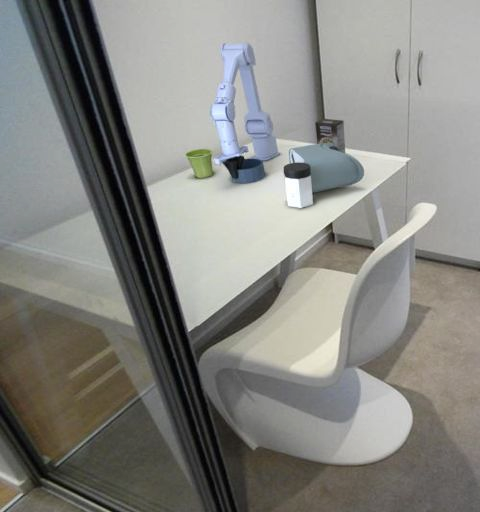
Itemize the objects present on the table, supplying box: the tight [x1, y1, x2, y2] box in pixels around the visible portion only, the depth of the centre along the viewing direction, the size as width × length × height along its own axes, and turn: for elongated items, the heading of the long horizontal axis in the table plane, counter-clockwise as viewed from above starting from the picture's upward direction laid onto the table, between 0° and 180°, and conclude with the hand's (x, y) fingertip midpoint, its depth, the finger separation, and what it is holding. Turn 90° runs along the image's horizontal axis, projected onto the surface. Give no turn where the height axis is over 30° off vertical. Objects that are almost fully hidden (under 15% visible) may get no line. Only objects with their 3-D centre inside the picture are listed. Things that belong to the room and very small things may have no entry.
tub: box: [230, 157, 266, 184], centre depth 159 cm, size 12×12×5 cm
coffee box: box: [314, 118, 346, 153], centre depth 167 cm, size 9×6×16 cm
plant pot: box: [184, 148, 214, 179], centre depth 160 cm, size 9×9×9 cm
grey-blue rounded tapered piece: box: [288, 142, 365, 194], centre depth 149 cm, size 22×19×13 cm
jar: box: [283, 162, 314, 209], centre depth 136 cm, size 9×8×12 cm
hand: (236, 177), depth 155 cm, fingers closed
